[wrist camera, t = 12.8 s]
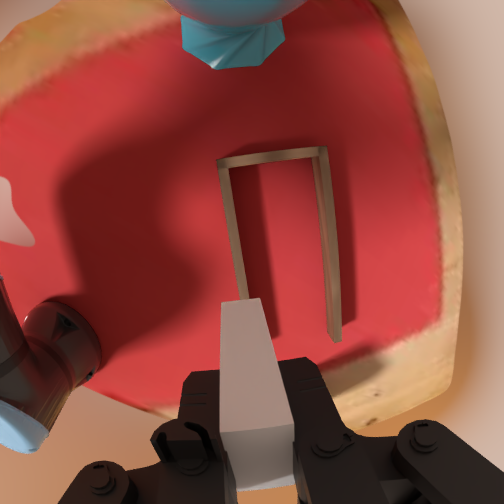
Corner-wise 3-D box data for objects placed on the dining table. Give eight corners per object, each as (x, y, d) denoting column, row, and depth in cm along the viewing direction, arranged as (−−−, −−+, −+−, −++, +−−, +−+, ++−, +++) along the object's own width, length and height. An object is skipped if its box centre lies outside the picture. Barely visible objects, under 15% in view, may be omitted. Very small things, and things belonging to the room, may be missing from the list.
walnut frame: (249, 346, 44) (251, 359, 41) (217, 160, 37) (216, 159, 34) (334, 329, 45) (341, 341, 41) (318, 147, 38) (326, 145, 34)
